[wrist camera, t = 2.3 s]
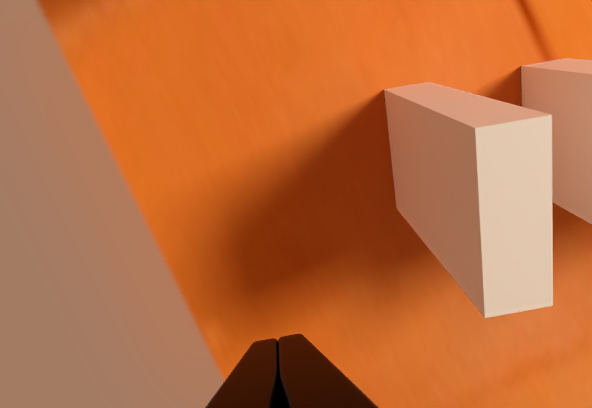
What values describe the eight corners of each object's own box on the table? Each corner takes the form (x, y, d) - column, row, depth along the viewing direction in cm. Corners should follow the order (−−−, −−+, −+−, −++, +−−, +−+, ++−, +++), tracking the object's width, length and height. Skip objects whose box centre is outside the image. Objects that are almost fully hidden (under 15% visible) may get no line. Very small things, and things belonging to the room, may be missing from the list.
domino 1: (429, 81, 21) (551, 115, 12) (438, 201, 22) (552, 305, 14) (384, 89, 20) (475, 128, 12) (396, 208, 22) (484, 318, 14)
